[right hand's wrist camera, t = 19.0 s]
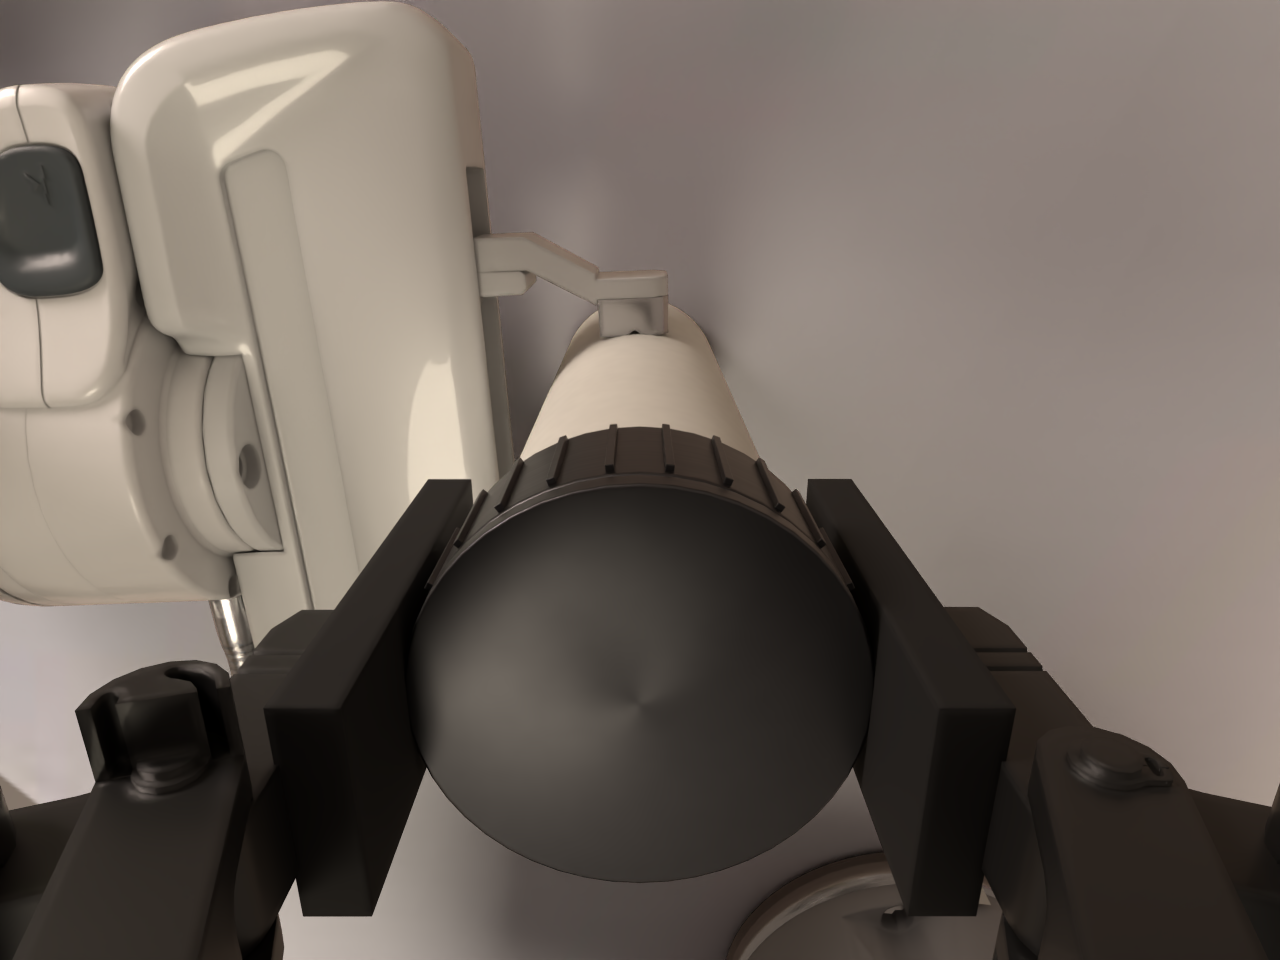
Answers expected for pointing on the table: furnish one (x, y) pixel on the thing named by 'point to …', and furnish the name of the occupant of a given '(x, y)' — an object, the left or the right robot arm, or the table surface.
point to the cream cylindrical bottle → (640, 387)
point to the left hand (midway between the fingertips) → (671, 421)
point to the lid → (639, 659)
